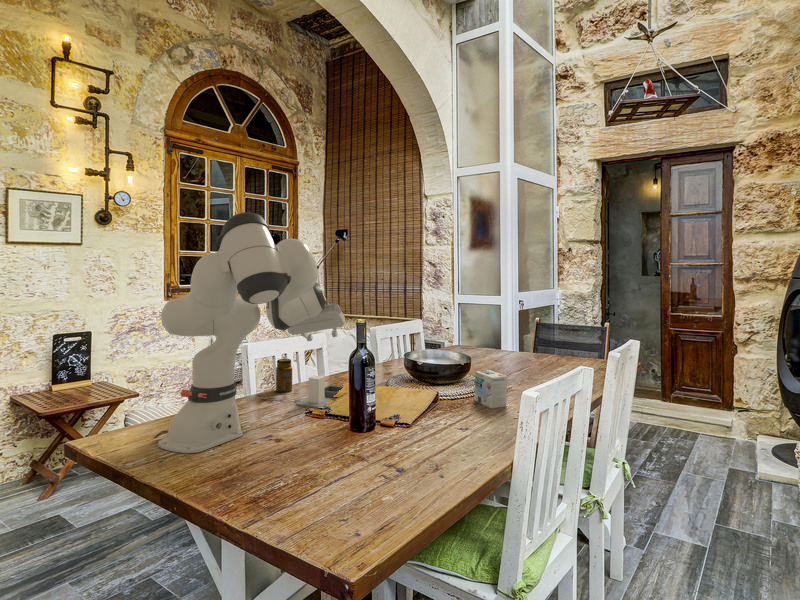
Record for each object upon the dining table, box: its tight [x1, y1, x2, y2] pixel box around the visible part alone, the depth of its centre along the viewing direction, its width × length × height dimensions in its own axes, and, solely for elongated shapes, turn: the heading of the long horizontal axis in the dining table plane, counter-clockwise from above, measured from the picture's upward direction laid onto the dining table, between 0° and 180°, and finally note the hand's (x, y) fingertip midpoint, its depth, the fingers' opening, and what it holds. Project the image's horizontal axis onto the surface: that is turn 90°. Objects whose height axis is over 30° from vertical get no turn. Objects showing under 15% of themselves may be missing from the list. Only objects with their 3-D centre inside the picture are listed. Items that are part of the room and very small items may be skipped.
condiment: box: [273, 358, 295, 395], centre depth 180 cm, size 7×8×12 cm
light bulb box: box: [473, 369, 508, 409], centre depth 168 cm, size 11×7×11 cm, turn 25°
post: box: [308, 375, 326, 404], centre depth 166 cm, size 4×4×8 cm
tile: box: [295, 397, 332, 409], centre depth 166 cm, size 10×10×1 cm
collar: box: [325, 385, 344, 398], centre depth 177 cm, size 8×8×2 cm
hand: (322, 337), depth 168 cm, fingers open, 8 cm apart
